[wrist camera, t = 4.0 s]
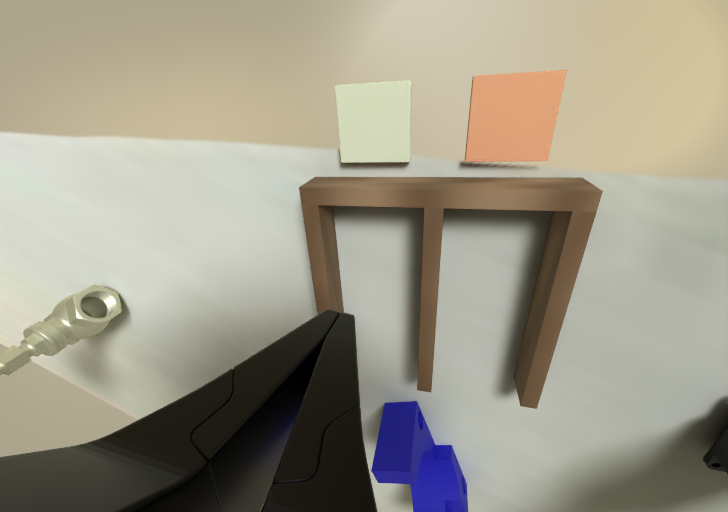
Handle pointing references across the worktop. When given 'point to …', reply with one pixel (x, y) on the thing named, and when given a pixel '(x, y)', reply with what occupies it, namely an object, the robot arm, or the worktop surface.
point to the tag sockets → (459, 200)
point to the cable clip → (418, 461)
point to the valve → (64, 326)
